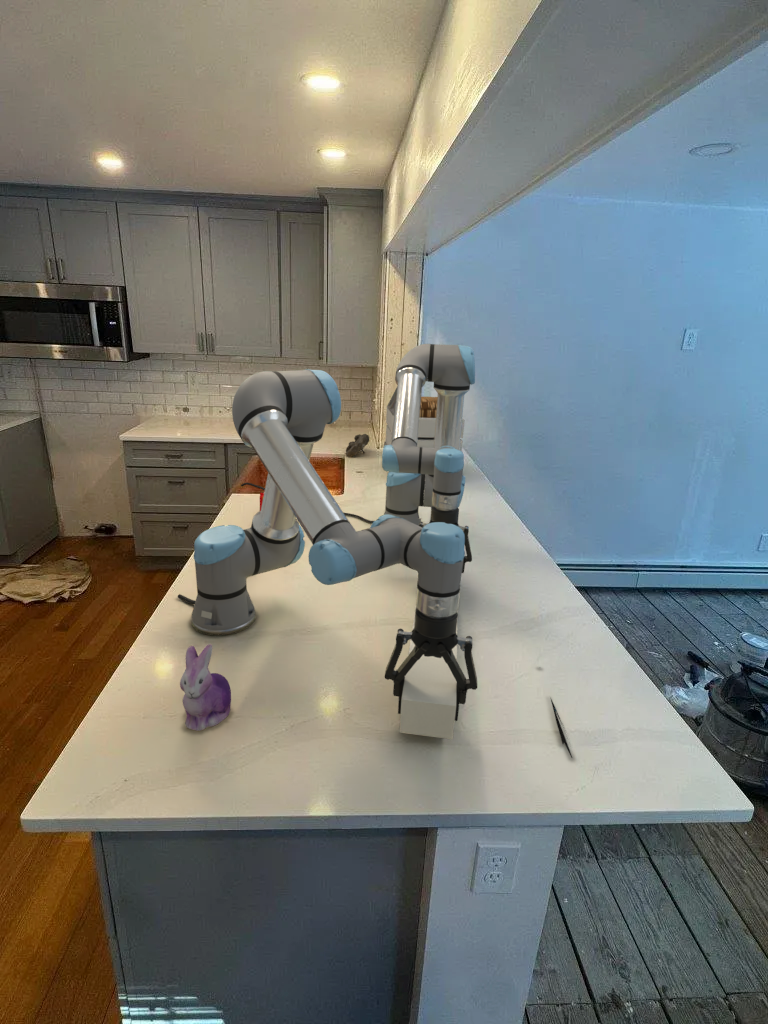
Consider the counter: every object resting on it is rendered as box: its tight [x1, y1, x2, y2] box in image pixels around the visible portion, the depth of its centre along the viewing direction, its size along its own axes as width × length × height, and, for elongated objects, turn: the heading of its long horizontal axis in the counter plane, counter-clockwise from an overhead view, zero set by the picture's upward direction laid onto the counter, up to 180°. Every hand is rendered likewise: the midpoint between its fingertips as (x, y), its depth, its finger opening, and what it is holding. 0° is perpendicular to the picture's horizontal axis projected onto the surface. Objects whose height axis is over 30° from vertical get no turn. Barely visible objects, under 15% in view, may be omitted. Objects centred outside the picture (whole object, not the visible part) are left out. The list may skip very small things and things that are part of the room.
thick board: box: [399, 608, 459, 740], centre depth 133 cm, size 67×10×7 cm, turn 173°
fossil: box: [345, 433, 370, 458], centre depth 306 cm, size 22×10×15 cm
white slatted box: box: [383, 385, 465, 452], centre depth 268 cm, size 34×33×41 cm
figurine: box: [179, 643, 232, 732], centre depth 106 cm, size 9×10×15 cm
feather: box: [539, 666, 573, 758], centre depth 114 cm, size 2×28×2 cm
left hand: (427, 712), depth 108 cm, fingers closed on thick board, 10 cm apart
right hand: (438, 580), depth 161 cm, fingers closed on thick board, 10 cm apart
